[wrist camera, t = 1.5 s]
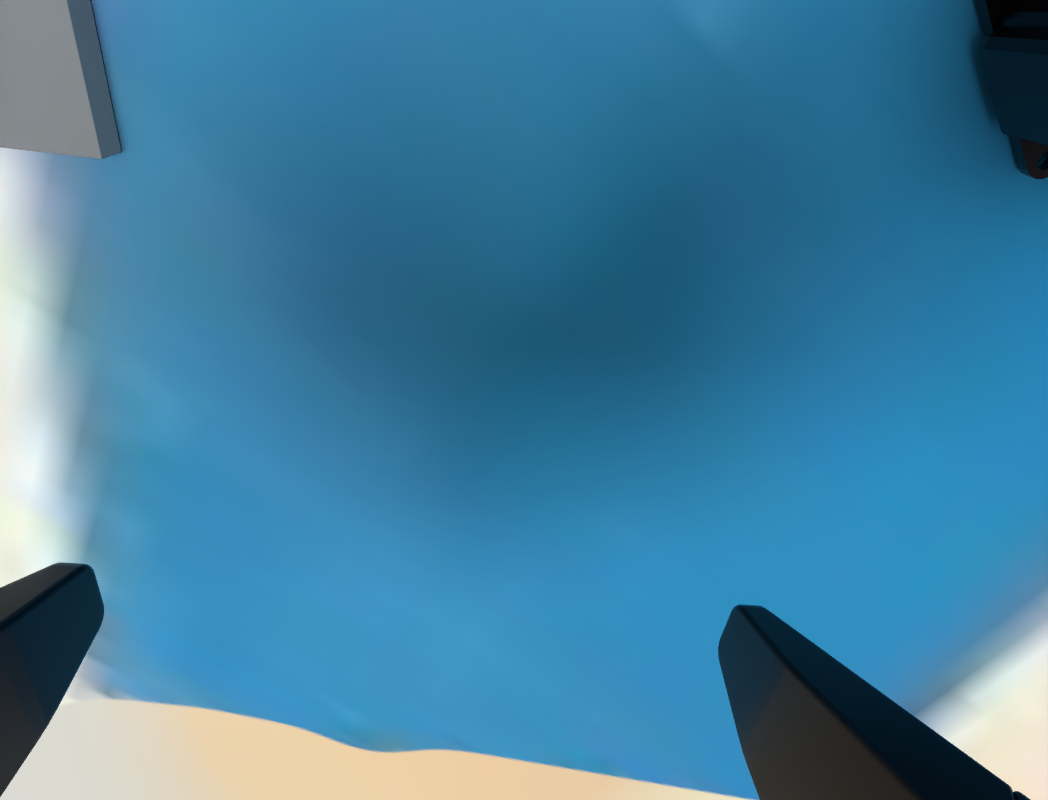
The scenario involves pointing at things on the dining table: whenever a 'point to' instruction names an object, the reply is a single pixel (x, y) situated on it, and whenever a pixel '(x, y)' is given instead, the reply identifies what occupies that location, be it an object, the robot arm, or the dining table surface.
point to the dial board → (54, 80)
